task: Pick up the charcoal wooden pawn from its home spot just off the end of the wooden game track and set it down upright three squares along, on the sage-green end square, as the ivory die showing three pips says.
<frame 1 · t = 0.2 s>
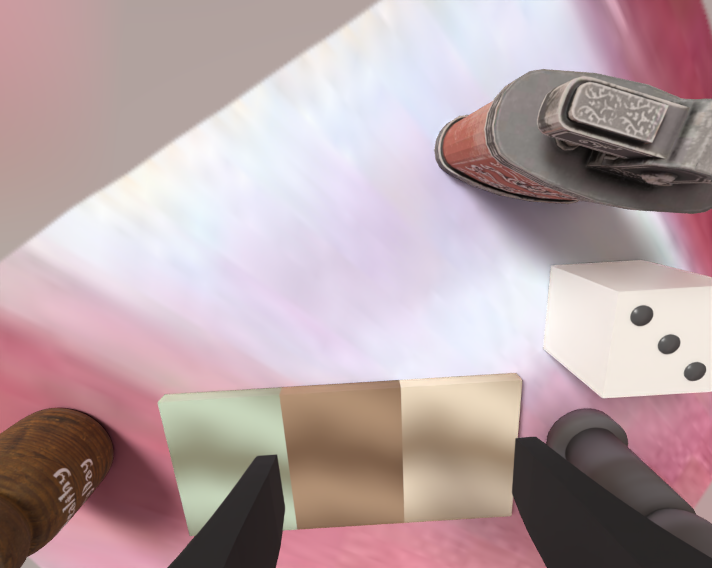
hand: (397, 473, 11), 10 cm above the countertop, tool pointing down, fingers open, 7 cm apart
die: (590, 305, 20), on the countertop
pawn: (580, 438, 22), on the countertop
lighter: (509, 162, 18), on the countertop
utensil holder: (72, 440, 22), on the countertop
game track: (345, 453, 22), on the countertop
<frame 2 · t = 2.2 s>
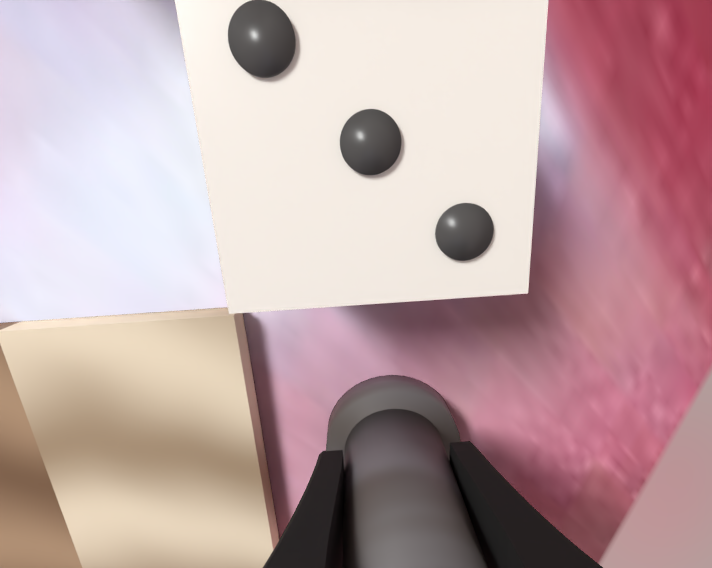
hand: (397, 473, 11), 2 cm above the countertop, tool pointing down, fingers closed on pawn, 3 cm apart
die: (360, 164, 10), on the countertop
pawn: (390, 430, 12), on the countertop, touching gripper
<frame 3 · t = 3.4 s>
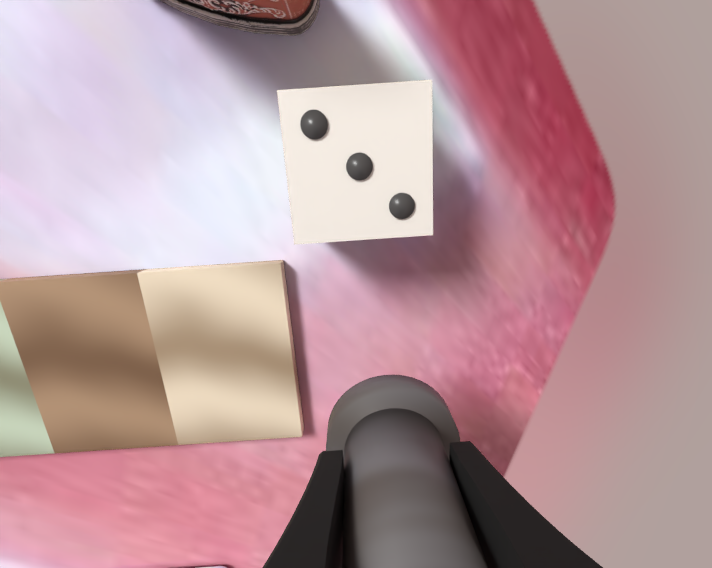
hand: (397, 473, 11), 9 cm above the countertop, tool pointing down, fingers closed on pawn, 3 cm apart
die: (356, 172, 17), on the countertop
pawn: (389, 430, 12), point 7 cm above the countertop, touching gripper
game track: (103, 362, 19), on the countertop
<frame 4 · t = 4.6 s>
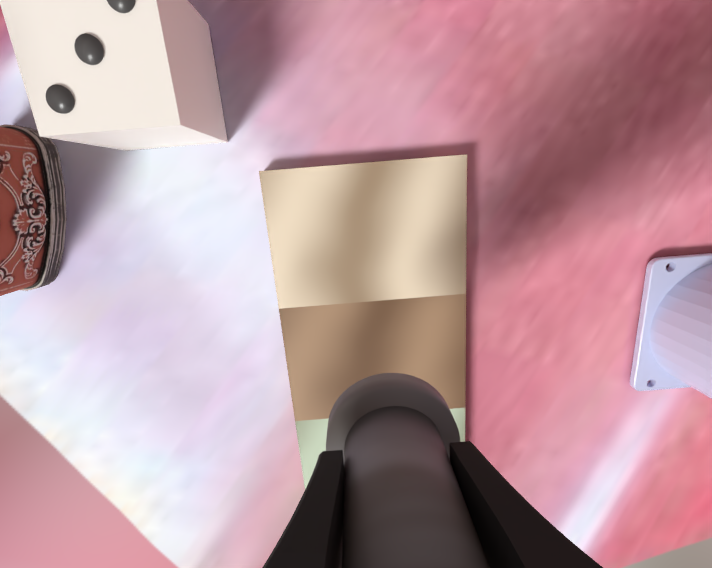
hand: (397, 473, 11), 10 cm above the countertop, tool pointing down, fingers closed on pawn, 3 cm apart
die: (165, 90, 17), on the countertop
pawn: (389, 428, 12), point 8 cm above the countertop, touching gripper
lighter: (35, 211, 18), on the countertop
game track: (375, 353, 20), on the countertop
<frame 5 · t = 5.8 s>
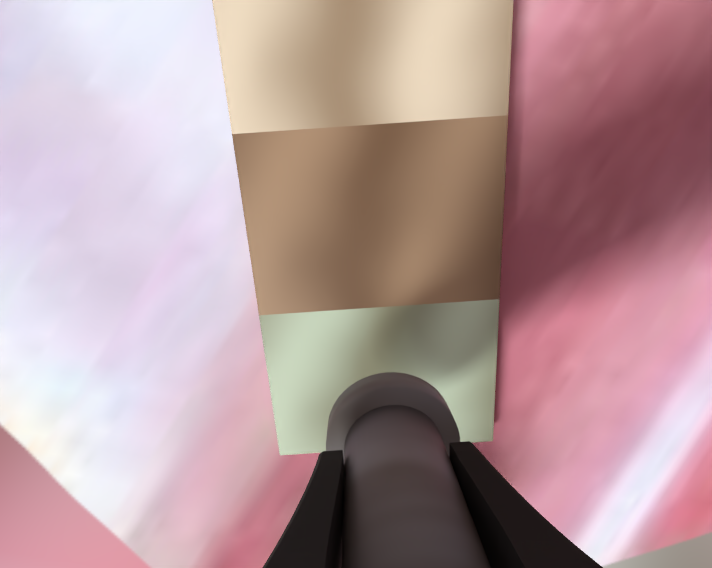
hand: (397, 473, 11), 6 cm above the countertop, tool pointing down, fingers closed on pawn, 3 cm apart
pawn: (389, 428, 12), point 4 cm above the countertop, touching gripper
game track: (373, 220, 14), on the countertop
when the fingers open (4 cm above the countertop, at t = 6.9 s): pawn drops 1 cm, resting on game track.
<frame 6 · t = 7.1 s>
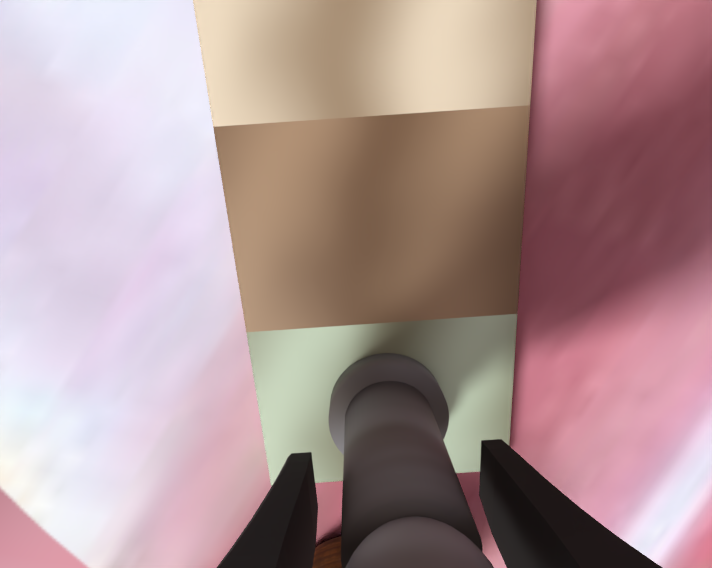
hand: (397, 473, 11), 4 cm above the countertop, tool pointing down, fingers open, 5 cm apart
pawn: (386, 405, 14), point 1 cm above the countertop, touching game track
game track: (375, 225, 13), on the countertop
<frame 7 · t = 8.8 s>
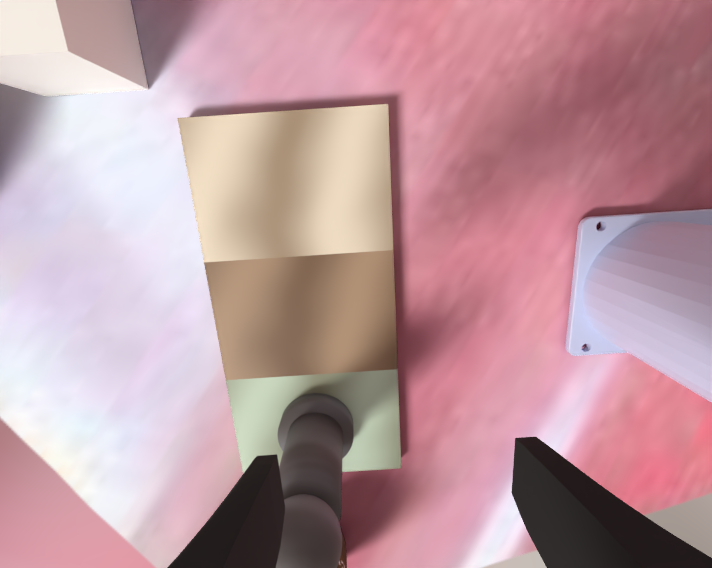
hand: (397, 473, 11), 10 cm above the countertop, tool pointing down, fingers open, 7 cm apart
die: (83, 33, 16), on the countertop
pawn: (317, 425, 21), point 1 cm above the countertop, touching game track
game track: (307, 313, 20), on the countertop
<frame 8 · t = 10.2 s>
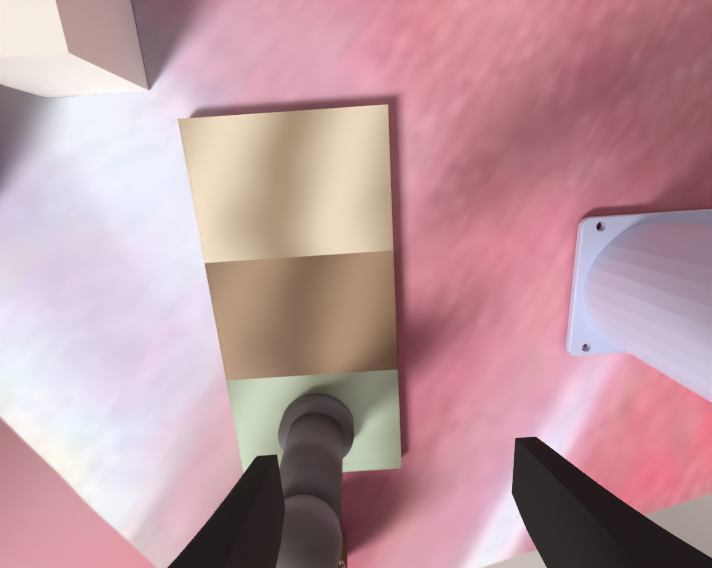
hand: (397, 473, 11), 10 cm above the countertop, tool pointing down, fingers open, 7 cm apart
die: (83, 35, 16), on the countertop
pawn: (317, 425, 21), point 1 cm above the countertop, touching game track
game track: (307, 313, 20), on the countertop
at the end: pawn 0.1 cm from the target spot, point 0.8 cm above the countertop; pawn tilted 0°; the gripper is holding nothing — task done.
